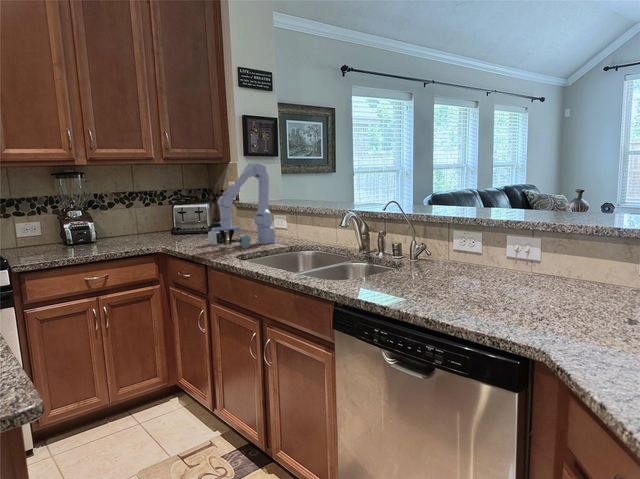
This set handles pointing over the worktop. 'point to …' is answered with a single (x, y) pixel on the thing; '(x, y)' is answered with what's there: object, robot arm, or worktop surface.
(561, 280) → the worktop surface
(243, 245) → the block
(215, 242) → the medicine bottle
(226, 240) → the t-handle rod
